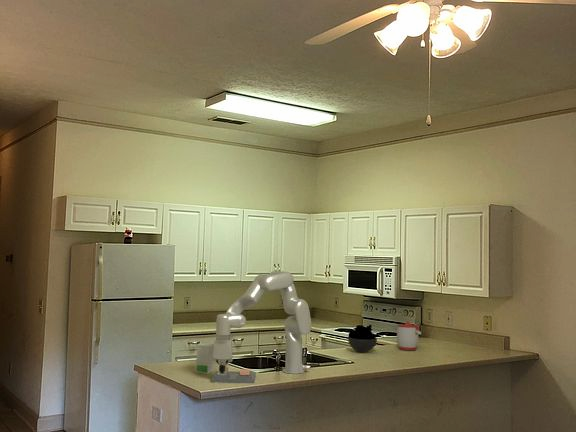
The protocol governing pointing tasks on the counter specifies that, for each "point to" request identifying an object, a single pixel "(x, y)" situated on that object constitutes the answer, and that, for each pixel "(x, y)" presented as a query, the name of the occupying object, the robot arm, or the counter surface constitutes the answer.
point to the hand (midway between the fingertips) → (222, 372)
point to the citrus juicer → (407, 336)
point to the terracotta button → (245, 372)
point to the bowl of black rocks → (362, 339)
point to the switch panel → (234, 377)
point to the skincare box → (204, 358)
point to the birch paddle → (225, 366)
